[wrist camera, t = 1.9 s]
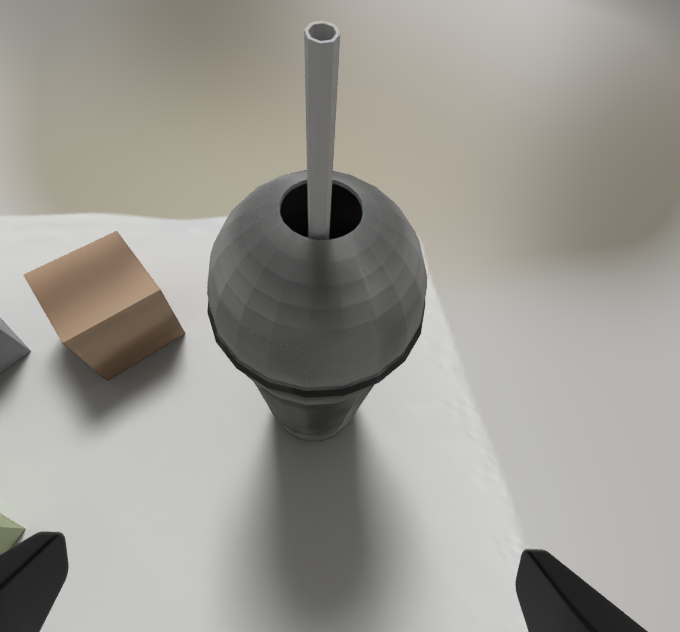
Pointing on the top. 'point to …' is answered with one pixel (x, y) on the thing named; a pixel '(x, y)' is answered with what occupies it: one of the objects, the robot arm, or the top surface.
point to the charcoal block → (10, 347)
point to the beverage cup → (317, 276)
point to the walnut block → (105, 305)
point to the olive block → (8, 533)
